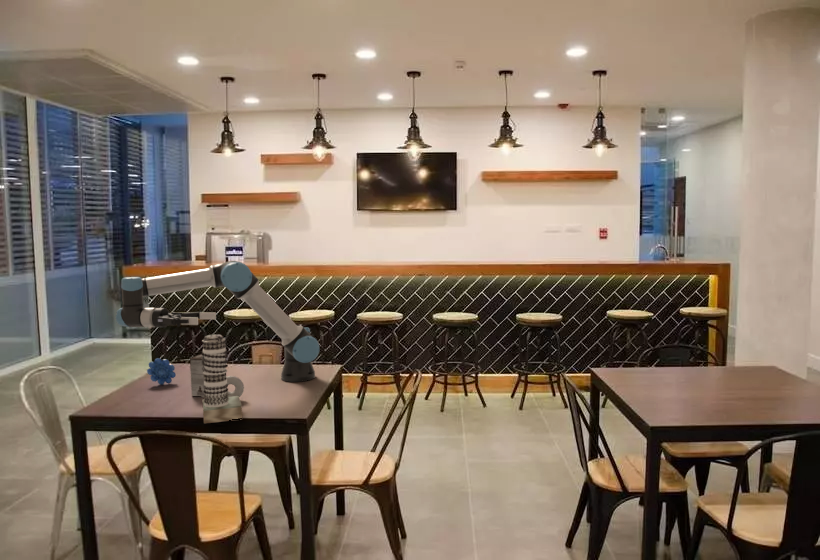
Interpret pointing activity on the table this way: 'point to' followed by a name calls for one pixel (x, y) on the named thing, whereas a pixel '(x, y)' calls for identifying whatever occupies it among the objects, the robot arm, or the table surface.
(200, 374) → the coffee box
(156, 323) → the robot arm
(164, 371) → the blue lobed piece
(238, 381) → the donut
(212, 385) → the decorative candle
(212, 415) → the riser
